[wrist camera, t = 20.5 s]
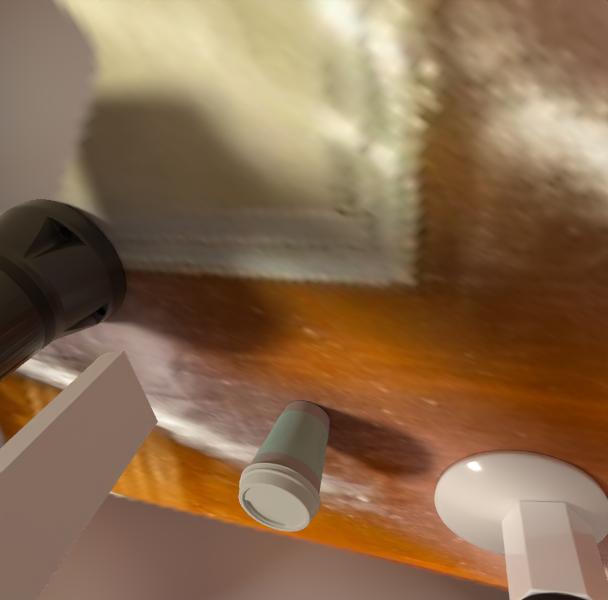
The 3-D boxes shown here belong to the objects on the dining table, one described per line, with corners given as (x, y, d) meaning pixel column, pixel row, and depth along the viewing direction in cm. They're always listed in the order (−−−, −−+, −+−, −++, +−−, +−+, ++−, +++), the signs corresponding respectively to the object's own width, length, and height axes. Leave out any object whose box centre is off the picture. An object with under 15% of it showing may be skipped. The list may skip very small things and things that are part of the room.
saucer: (433, 534, 56) (433, 541, 55) (436, 440, 47) (435, 447, 46) (591, 564, 50) (593, 572, 50) (628, 463, 42) (631, 472, 41)
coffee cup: (261, 396, 52) (218, 481, 42) (323, 386, 48) (291, 477, 38) (292, 445, 55) (258, 534, 45) (352, 439, 51) (329, 535, 41)
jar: (486, 510, 49) (495, 627, 39) (552, 488, 45) (581, 615, 35) (537, 552, 51) (558, 676, 41) (606, 536, 46) (648, 671, 36)
